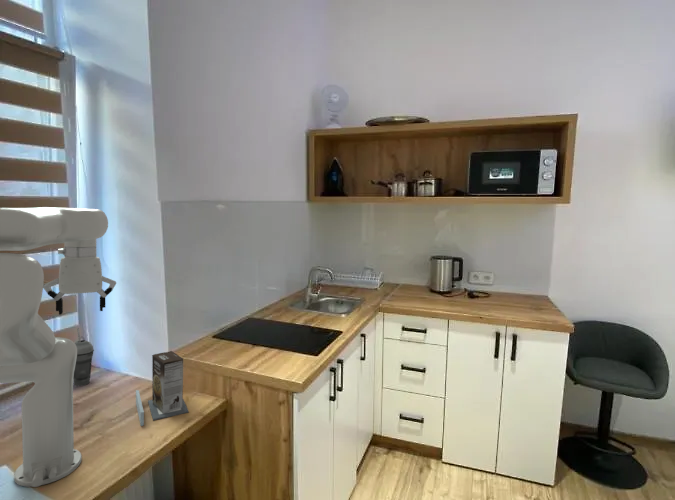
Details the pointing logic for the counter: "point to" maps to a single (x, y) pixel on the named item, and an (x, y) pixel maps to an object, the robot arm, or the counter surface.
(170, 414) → the mat
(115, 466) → the counter surface
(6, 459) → the counter surface
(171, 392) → the coffee box
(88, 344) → the beverage cup
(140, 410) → the acrylic wall
